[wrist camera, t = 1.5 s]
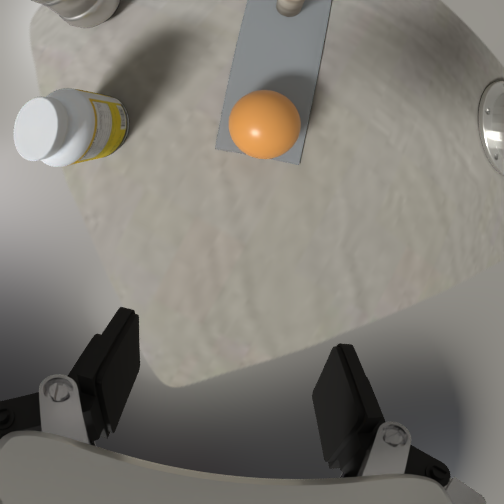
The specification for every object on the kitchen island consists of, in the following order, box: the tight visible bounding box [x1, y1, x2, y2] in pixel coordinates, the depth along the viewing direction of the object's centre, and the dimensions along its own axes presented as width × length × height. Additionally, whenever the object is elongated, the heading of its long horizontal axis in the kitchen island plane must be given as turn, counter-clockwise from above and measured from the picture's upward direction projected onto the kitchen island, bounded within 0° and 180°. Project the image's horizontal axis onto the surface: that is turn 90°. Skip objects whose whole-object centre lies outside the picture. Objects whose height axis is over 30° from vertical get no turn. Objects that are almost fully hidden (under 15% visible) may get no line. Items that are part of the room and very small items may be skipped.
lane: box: [215, 0, 331, 165], centre depth 24 cm, size 8×22×1 cm, turn 169°
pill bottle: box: [14, 88, 129, 167], centre depth 21 cm, size 6×6×12 cm
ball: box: [229, 90, 301, 159], centre depth 24 cm, size 6×6×6 cm
